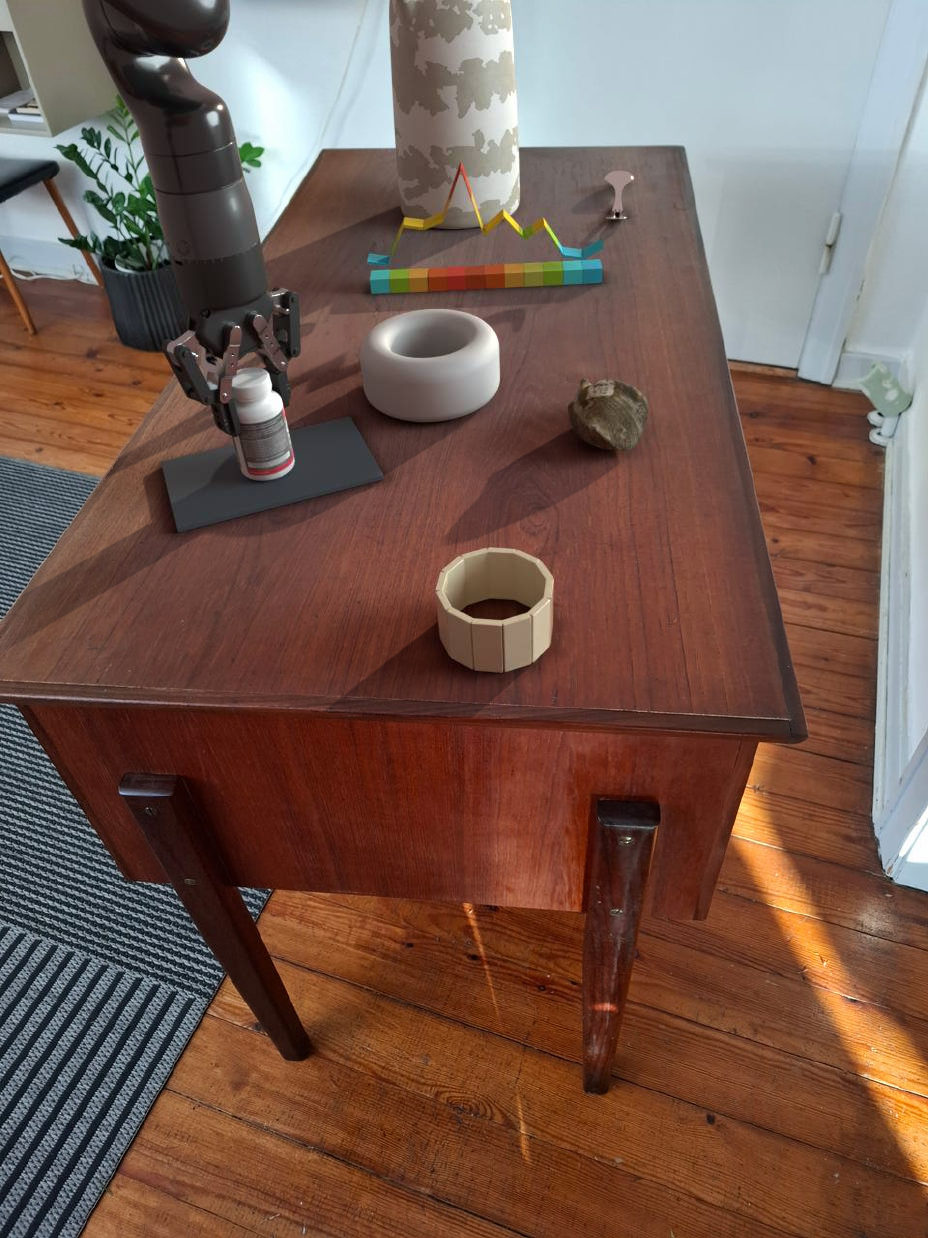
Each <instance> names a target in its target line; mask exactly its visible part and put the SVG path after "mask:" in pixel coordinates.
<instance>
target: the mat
mask: <svg viewBox="0 0 928 1238" xmlns="http://www.w3.org/2000/svg"><path fill="white" fill-rule="evenodd" d="M288 431H289V435H290V440H291V445H292V449H293V455H294V460H295V462H294V466H293V468H292V469H291V470H290V471H289V472H288V473H287V474H285V475H284V476H282V477H279V478H277V479H273V480H265V481H260V480H253V479H250V478H248V477H246V476H245V475H244V474H243V473H242V471H241V468H240V465H239V461H238V458H237V454H236V450H235V447H234V443H233V444H229V445H225V446H221V447H217V448H212V449H208V450H204V451H199V452H195V453H192V454H188V455H183V456H179V457H174V458H170V459H166V460H162V461H160V465H161V470H162V474H163V477H164V482H165V486H166V490H167V494H168V499H169V503H170V507H171V512H172V515H173V519H174V525H175V528H176V531H177V533H182V532H187V531H190V530H194V529H198V528H202V527H206V526H210V525H215V524H217V523H222V522H226V521H229V520H233V519H237V518H241V517H245V516H248V515H252V514H256V513H261V512H263V511H267V510H271V509H276V508H279V507H283V506H287V505H291V504H294V503H299V502H302V501H305V500H306V501H307V500H310V499H313V498H317V497H318V498H319V497H321V496H325V495H329V494H333V493H337V492H341V491H344V490H345V491H346V490H348V489H352V488H355V487H360V486H364V485H367V484H371V483H375V482H380V481H383V480H384V474H383V472H382V470H381V468H380V467H379V465H378V462H377V461H376V460H375V458H374V456H373V455H372V452H371V451H370V449H369V447H368V446H367V443H366V442H365V439H364V438H363V437H362V435H361V433H360V431H359V430H358V428H357V426H356V424H355V422H354V420H353V419H352V417H351V416H345V417H341V418H337V419H333V420H329V421H324V422H320V423H315V424H312V425H308V426H304V427H303V426H302V427H299V428H295V429H290V430H288Z"/></svg>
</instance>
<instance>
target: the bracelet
mask: <svg viewBox="0 0 928 1238" xmlns="http://www.w3.org/2000/svg"><path fill="white" fill-rule="evenodd" d="M554 586H555V579H554V577H553V575H552V573H551V572H550V571H549V569H548V567H546V565H545V564H544V562H543V561H542V560H540V559H539V558H537V557H535V556H532V555H530V554H528V553H526V552H524V551H522V550H520V549H516V548H508V547H507V548H505V547H488V548H487V547H483V548H479V549H476V550H473V551H470V552H466V553H463V554H460V555H458V556H456V558H454V559H453V560H452V561H450V562H449V563H448V564H447V565H446V566H444V567H443V568H442V569H441V570H440V571H439V574H438V579H437V582H436V585H435V590H434V591H435V592H434V594H435V603H436V604H435V605H436V613H437V614H436V615H437V623H438V624H437V625H438V632H439V640H440V641H441V643H442V645H443V647H444V649H445V651H446V652H447V655H448V656H449V657H450V658H451V659H452V660H453V661H456V662H457V663H459V664H461V665H463V666H465V667H467V668H469V669H470V670H474V671H476V672H488V673H489V672H490V673H499V674H500V673H501V674H502V673H508V672H511V671H514V670H518V669H520V668H523V667H526V666H530V665H531V664H532V663H535V662H536V661H537V660H538V659H539V658H540V657H541V656H542V655H543V654H544V653H545V652H547V650H548V649H549V648H550V646H551V644H552V636H553V627H554V595H555V594H554V593H555V592H554V591H555V590H554V588H555V587H554ZM489 599H495V600H510V601H511V600H512V601H516V602H517V603H520V604H522V605H524V606H526V607H529V608H530V610H528V611H527V612H525V613H521V614H518V615H515V616H511V617H509V618H505V619H488V618H487V619H486V618H476V617H475V618H473V617H472V616H469V615H468V614H466V613H464V612H462V610H464V609H465V608H466V607H467V606H469V605H472V604H476V603H479V602H483V601H485V600H489Z"/></svg>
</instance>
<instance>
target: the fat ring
mask: <svg viewBox="0 0 928 1238" xmlns="http://www.w3.org/2000/svg"><path fill="white" fill-rule="evenodd" d="M358 359H359V365H360V373H361V380H362V387H363V391H364V394H365V397H366V398H367V400H368V402H369V403H370V404H371V405H372V406H373V408H375V409H376V410H378V411H379V412H380V413H382V414H384V415H386V416H389V417H391V418H393V419H397V420H401V421H406V422H413V423H437V422H445V421H450V420H455V419H458V418H462V417H465V416H467V415H470V414H472V413H473V412H475V411H477V410H479V409H481V408H482V407H484V406H485V405H487V403H489V402H490V400H492V399H493V397H494V396H495V394H496V393H497V391H498V389H499V386H500V382H501V369H500V368H501V367H500V364H501V363H500V343H499V338H498V336H497V334H496V332H495V331H494V330H493V328H492V327H491V326H490V325H489V324H488V323H487V322H486V321H484V320H483V319H482V318H480V317H478V316H476V315H474V314H471V313H468V312H464V311H460V310H455V309H445V308H425V309H417V310H411V311H407V312H403V313H400V314H397V315H393V316H391V317H388V318H386V319H385V320H382V321H381V322H379V323H378V324H377V323H376V325H374V326H373V327H372V328H371V329H369V331H368V332H367V333H366V334H365V335H364V337H363V339H362V340H361V342H360V346H359V351H358Z"/></svg>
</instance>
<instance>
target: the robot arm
mask: <svg viewBox="0 0 928 1238" xmlns="http://www.w3.org/2000/svg"><path fill="white" fill-rule="evenodd" d="M80 3H81V9H82V13H83V16H84V19H85V22H86V27H87V28H88V31H89V34H90V36H91V39H92V41H93V43H94V45H95V48H96V50H97V53H98V54H99V57H100V58H101V60H102V62H103V64H104V66H105V68H106V70H107V72H108V74H109V76H110V79H111V80H112V83H113V84H114V87H115V88H116V90H117V92H118V94H119V96H120V99H121V100H122V102H123V104H124V105H125V107H126V109H127V111H128V113H129V115H130V116H131V118H132V120H133V122H134V124H135V126H136V128H137V131H138V134H139V139H140V143H141V147H142V151H143V154H144V155H143V156H144V158H145V162H146V165H147V169H148V173H149V177H150V180H151V184H152V187H153V192H154V197H155V204H156V210H157V211H156V212H157V216H158V222H159V225H160V229H161V231H162V235H163V240H164V243H165V246H166V250H167V254H168V257H169V261H170V264H171V267H172V271H173V275H174V278H175V281H176V282H175V283H176V285H177V289H178V292H179V296H180V299H181V301H182V303H183V305H184V307H185V309H186V312H187V325H186V330H187V331H185V332H184V333H183V334H182V335H180V336H179V337H177V338H176V339H175V340H172V339H169V338H167V339H164V340H163V342H162V343H161V350H162V351H161V352H162V353H163V355H164V356H165V358H166V361H167V362H168V364H169V366H170V368H171V370H172V372H173V373H174V376H175V377H176V379H177V381H178V383H179V385H180V388H181V389H182V391H183V393H184V395H185V396H186V397H187V398H188V399H190V400H194V401H195V402H197V403H199V404H201V405H204V406H205V407H209V406H210V408H211V412H212V415H213V419H214V423H215V426H216V428H217V429H218V430H219V431H221V432H223V433H225V434H227V435H229V436H230V437H232V436H233V437H237V436H239V435H240V434H242V429H241V425H240V421H239V417H238V413H237V410H236V406H235V402H234V400H233V399H231V391H232V379H233V378H234V377H235V376H236V374H237V370H238V363H239V361H240V360H242V359H243V358H244V357H245V356H246V355H248V354H251V353H254V354H255V355H256V357H257V358H258V360H259V361H260V362H261V364H262V365H264V366H265V367H263V368H262V369H264V370H266V371H267V372H268V373H269V376H270V380H271V383H272V389H271V390H273V391H275V392H276V393H278V394H279V396H280V397H281V399H282V403H283V407H284V409H286V408H288V407H289V406H290V400H291V397H292V396H291V395H292V392H291V386H290V382H289V377H288V373H287V369H288V368H289V362H290V361H291V360H292V359H293V358H295V359H296V358H298V357H299V356H300V355H301V351H302V350H301V349H302V347H301V346H302V345H301V342H302V341H301V315H300V314H301V313H300V312H301V311H300V296H299V294H298V293H297V292H295V291H292V290H290V289H286V288H284V287H281V286H274V287H273V288H271V291H270V292H269V287H270V280H269V275H268V271H267V265H266V261H265V256H264V252H263V251H264V250H263V248H262V241H261V236H260V232H259V226H258V222H257V217H256V211H255V208H254V203H253V200H252V197H251V194H250V191H249V188H248V186H247V185H248V184H247V182H246V179H245V175H244V170H243V165H242V161H241V156H240V151H239V146H238V141H237V137H236V133H235V128H234V125H233V119H232V116H231V113H230V110H229V108H228V105H227V103H226V102H225V101H224V99H223V98H222V97H221V96H220V95H218V93H216V92H214V91H213V90H211V89H209V88H207V87H206V86H205V85H204V84H201V83H200V82H199V81H198V80H197V79H196V78H195V77H194V75H193V73H192V72H191V70H190V68H189V66H188V64H187V61H186V60H191V59H197V58H201V57H204V56H206V55H208V54H210V53H212V52H214V50H215V49H217V48H218V47H219V46H220V44H221V43H222V42H223V40H224V39H225V37H226V34H227V32H228V30H229V26H230V20H231V1H230V0H80ZM271 318H272V330H270V328H269V323H270V321H271ZM198 344H199V345H200V346H201V356H200V355H198V350H197V347H198ZM200 357H201V359H200ZM217 358H218V359H220V360H222V362H219V361H218V359H217ZM199 360H201V361H200V366H201V368H200V366H199V364H198V362H197V361H199ZM201 369H202V370H203V372H202V370H201Z"/></svg>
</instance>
